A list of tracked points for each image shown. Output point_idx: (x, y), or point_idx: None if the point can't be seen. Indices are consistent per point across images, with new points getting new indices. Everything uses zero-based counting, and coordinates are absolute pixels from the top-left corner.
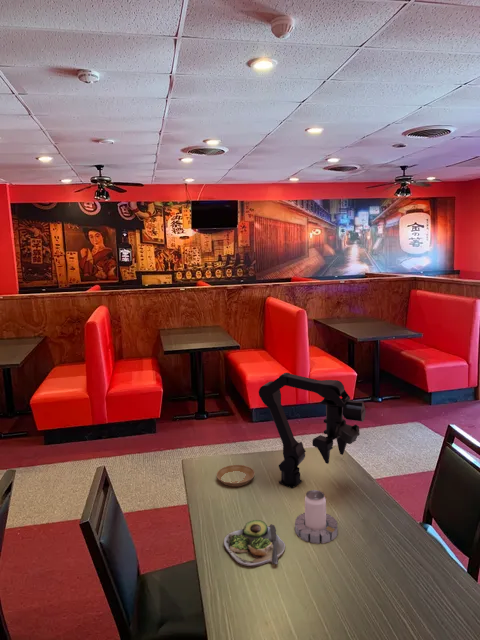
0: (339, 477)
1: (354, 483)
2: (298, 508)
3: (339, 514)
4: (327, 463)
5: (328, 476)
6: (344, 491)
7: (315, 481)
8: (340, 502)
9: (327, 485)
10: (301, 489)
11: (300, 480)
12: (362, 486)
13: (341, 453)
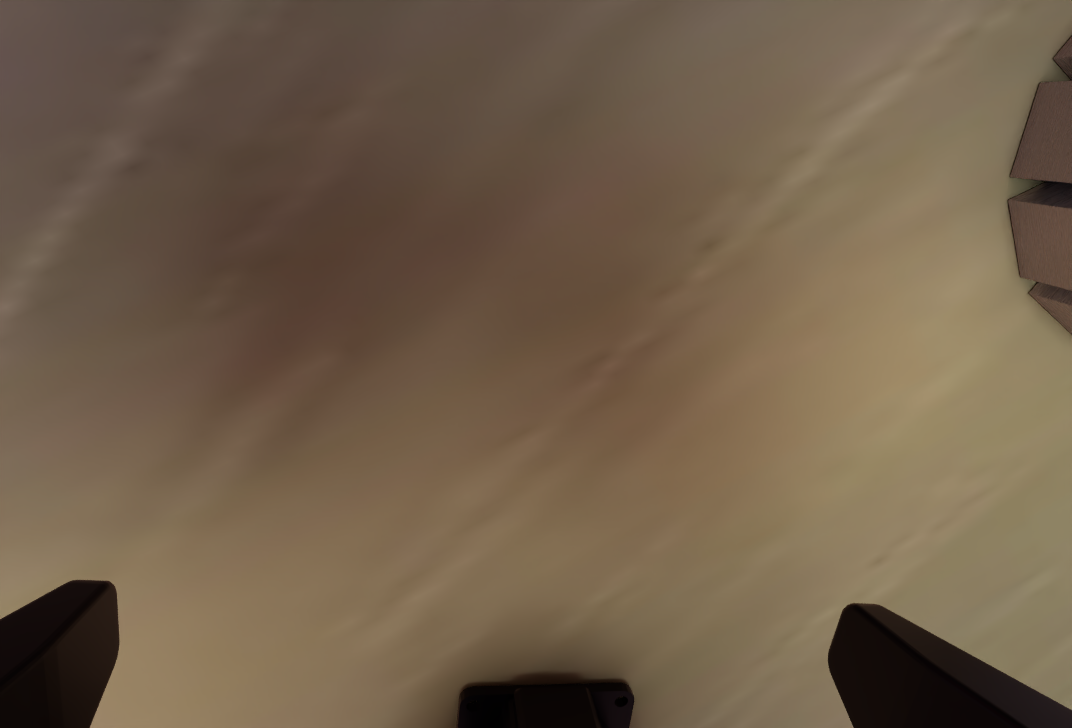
0: (84, 447)
1: (80, 220)
2: (913, 466)
3: (863, 70)
4: (877, 617)
5: (163, 555)
6: (364, 242)
7: (368, 600)
8: (626, 172)
9: (364, 465)
10: (596, 616)
11: (468, 708)
12: (72, 85)
13: (101, 637)
